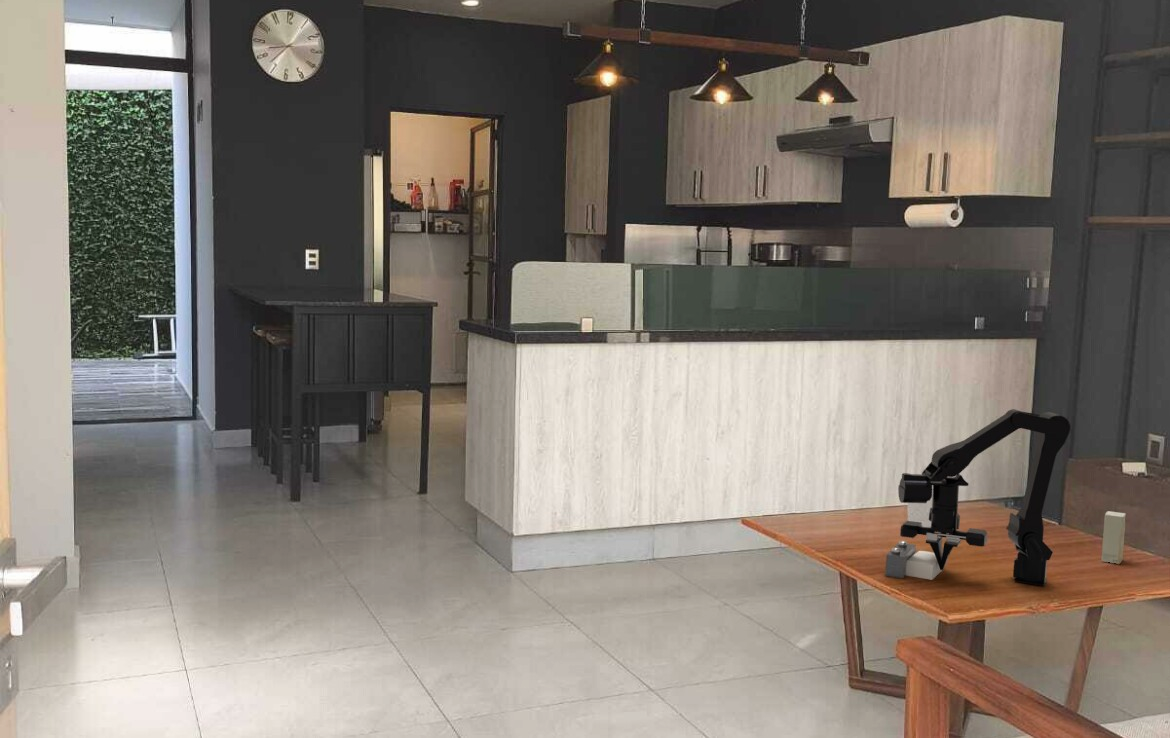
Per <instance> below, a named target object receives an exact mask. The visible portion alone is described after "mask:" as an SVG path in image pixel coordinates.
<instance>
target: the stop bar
mask: <svg viewBox="0 0 1170 738" xmlns="http://www.w3.org/2000/svg"><path fill="white" fill-rule="evenodd" d="M916 548H917V545H916V544H912V543H908V541H906V540H898V543H897V544H895V546H893V547H891V549H890V551H888V552H887V553H886V558H885V571H884V572H885V573H884V576H886V577H890V578H897V579H904V577H906V576H907V575H906V563H907V560H908V559H909V558H911V557H912V556H913V555H914V554H916V550H917V549H916Z"/></svg>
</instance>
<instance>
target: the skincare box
mask: <svg viewBox="0 0 1170 738" xmlns="http://www.w3.org/2000/svg"><path fill="white" fill-rule="evenodd" d="M1126 515H1127V514H1126V512H1118V511H1117V512H1116V511H1110V510H1108V511H1106V512H1105V514H1104V520H1103V521H1104V522H1103V532H1102V533H1103V535H1102V548H1101V561H1100V562H1104V563H1108V562H1110V563H1109V564H1114V563H1116V565H1120V564H1121V563H1122V561H1123V556H1124V544H1125V532H1126V531H1125V528H1126Z"/></svg>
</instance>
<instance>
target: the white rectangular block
mask: <svg viewBox="0 0 1170 738" xmlns="http://www.w3.org/2000/svg"><path fill="white" fill-rule="evenodd" d="M942 571H943V570H940V568H939V565H938V562H937V559H936V556H935V554H934V552H933V551H927V550H918V551H917V552H915V554H914V555H913V556H912V557H911V558H909V559H908V560H907V563H906V575H905V576H908V577H914V578H918V579H919V578H920V579H926V580H931V581H932V580H934V579H935V578H936V577H937V575H939V574H940V573H941V572H942Z"/></svg>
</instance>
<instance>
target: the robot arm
mask: <svg viewBox="0 0 1170 738" xmlns="http://www.w3.org/2000/svg"><path fill="white" fill-rule="evenodd" d="M1071 428H1072V426H1071V423H1070V422H1069V420H1068V418H1066V417H1065V416H1062V415H1060V414H1057V413H1054V412H1050V411H1046V412H1043V413H1040V414H1038V413H1033V412H1026V411H1022V410H1019V409H1014V408H1013V409H1009V410H1008V411H1006V413H1004V414H1003V415H1002V416H1000V417H999V418H997V419H996V420H994V421H992V422H990V423H989V424H987V425H986V426H984V427H983V428H981V429H980V430H978V431H976V432H975V433H974V434H971V435H970V436H969V437H966V438H965V439H964V440H961V441H958V442H955V443H951V444H947V445H946V446H944V447H941V448H939V449H937V450H936V451H934V452H933V454H932V456H931V461H930V463H929V464H928V465H927V466H925V469H923V471H922V472H921V474H915V473H913V474H912V473H907V472H902V474H901V478H900V480H899V481H900V482H899V485H898V489H897V490H898V492H897V493H898V499H899V502H900V503H902V504H903V503H907V504H908V503H927V501H930V499H931V498H932V508H930V512H929V521H930V522H931V528H930V527H922V522H913V521H908V520H906V521H905V522H904V523H902V524H901V526H900V533H899V535H900V537H903V538H909V539H910V538H911V539H914V538H915V537H917V536H918V535H921V536H922V535H923V536H926V540H925V544H929V545H930V548H931V549H932V553H934V554H935V556H936V559H937V562H938V565H939V568H940V570H942V571H944V569H945V567H946V564H947V561H948V559H949V557H950V554H951V552H952V550H953V548H957V547H958V546H959V545H960V544H961V542H962V541H963V540H964V541H965V542H966V543H967V544H968V545H969V546H974V547H985V546H986V544H987V542H988V532H987V531H986V530H985V529H979V528H972V527H971V528H969V529H968V530H967V531H961V530H959V529H960V521H961V515H960V514H959V512H958V511H959V492H960V491H959V490H960V489H959V487H960V486H961V487H968V486H969V482H967V481H966V480H965V479H964V477H963V475H962V474H961V473H962V472H963V471H964V470H965V469H966V468H967V467H969V466H970V464H971V463H972V461H973V460H974V458H976V457H977V456H978V455H980V454H982V453H983V452H984V451H986V450H988V449H989V448H991V447H993V446H994V445H995V444H997V443H999V442H1000V441H1002V440H1004V438H1006V437H1008V436H1010V435H1011V434H1012V433H1014V432H1016V431H1017V430H1019V429H1023V430H1026V431H1027V430H1028V431H1031V432H1034V433H1033V439H1034V446H1035V451H1034V455H1033V459H1032V464H1031V468H1030V471H1029V476H1028V478H1027V479H1028V480H1027V484H1026V487H1025V491H1024V496H1023V501H1022V504H1021V507H1020V509H1019V510H1018V512H1016V513H1013V512H1010V514H1009V518H1008V519H1009V521H1008V525H1007V526H1006V528H1005V530H1006V531H1008V532H1007V533H1008V534H1007V537H1008V538H1009V540H1010V541H1011V543H1013V544H1014V547H1015V549H1016V551H1018V553H1017V556H1016V557H1015V559H1014V560H1013V561H1014V562H1013V573H1012V577H1013V578H1014V580H1013V581H1014V582H1016V583H1022V584H1030V585H1035V586H1040V587H1044V586H1045V585H1046V582H1047V567H1048V565H1047V564H1048V561H1050V560H1051V557H1052V555H1053V553H1054V552H1053V551H1052V550H1051V549H1050V547H1049V546H1048V545H1047V544H1046V543H1045V542H1044V530H1045V529H1044V528H1045V526H1044V519H1043V510H1044V507H1045V504H1046V499H1047V495H1048V490H1049V488H1050V483H1051V479H1052V474H1053V472H1054V471H1053V470H1054V467H1055V462H1056V458H1057V455H1058V453H1059V452H1061V450H1062V448H1063V447H1064V446H1065V444H1066V441H1067V440H1068V437H1069V436H1070V434H1071V433H1070V432H1071V430H1072V429H1071ZM932 490H933V496H932ZM943 538H945V539H946V541H944V542H943Z"/></svg>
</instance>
